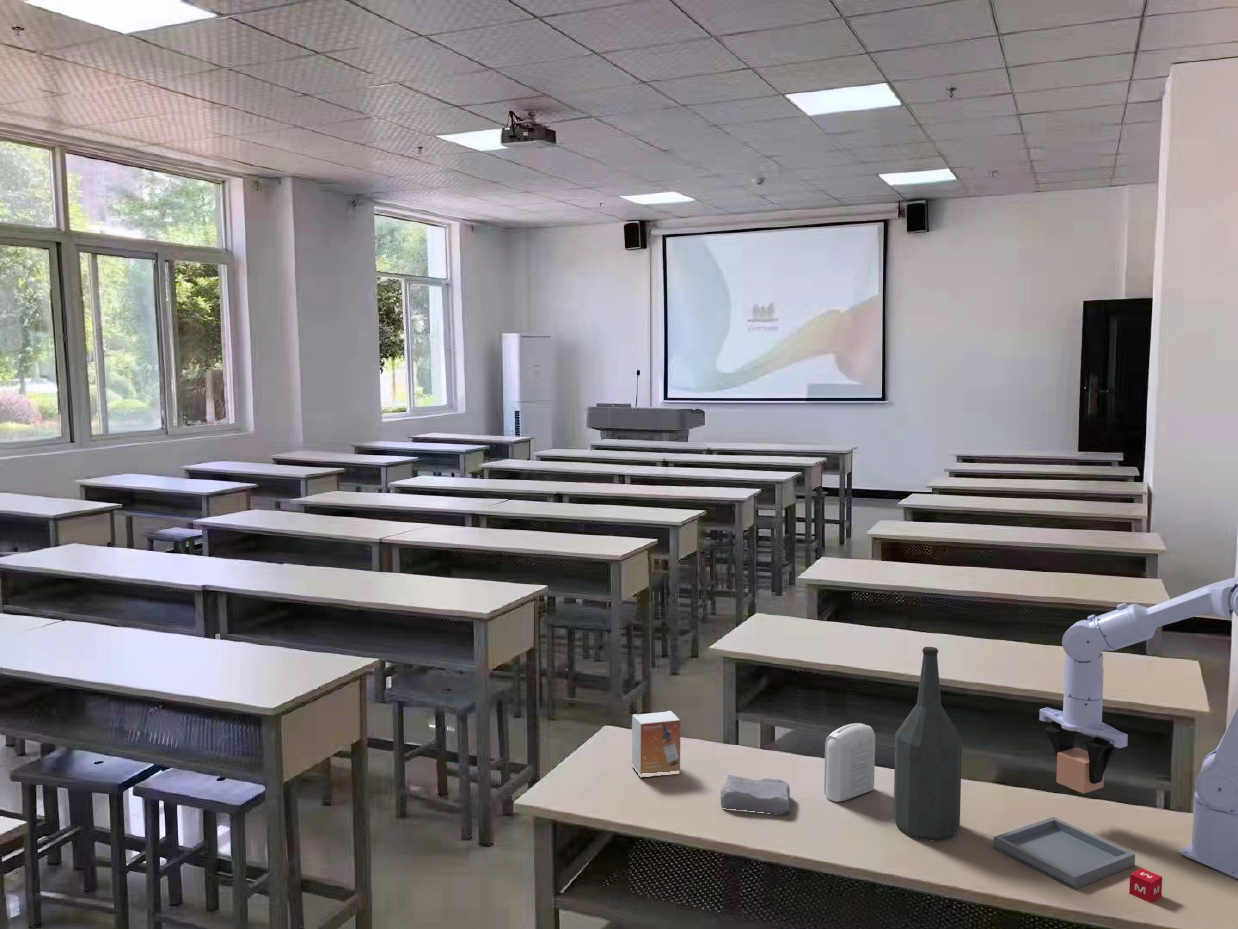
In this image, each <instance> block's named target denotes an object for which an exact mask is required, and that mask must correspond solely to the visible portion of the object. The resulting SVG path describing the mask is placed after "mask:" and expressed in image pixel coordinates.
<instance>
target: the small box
mask: <svg viewBox="0 0 1238 929" xmlns="http://www.w3.org/2000/svg"><path fill="white" fill-rule="evenodd" d="M631 716H632V718H631V720H632V721H631V722H632V723H631V764H632V763H633V765H634V767H635V768H636V769H637V771H638V772H639V773H640V774H642V773H657V772H670V771H677V770H678V771H679V770H680V771H681V726H682V725H681V720H680V718H679V717H678V716H677V715H676V714H675V713H674V712H673V711H672V710H667V711H662V712H661V711H660V712H651V713H641V714H640V713H638V714H637V713H635V714H632V715H631Z"/></svg>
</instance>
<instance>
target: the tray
mask: <svg viewBox="0 0 1238 929" xmlns="http://www.w3.org/2000/svg"><path fill="white" fill-rule="evenodd" d="M993 849H995V850H997V851H998V852H1000V853H1002V854H1004V855H1007V856H1009V857H1011V858H1013V859H1014V860H1016V861H1018V862H1021V863H1022V864H1024V865H1026V866H1028V867H1030V868H1032V869H1033V870H1035V871H1038V872H1039V871H1040V872H1039V873H1042V874H1044V875H1045V876H1047V877H1049V878H1051V879H1053V880H1055V881H1057V882H1058V883H1060V884H1062V885H1065V886H1067V887H1069V888H1071V889H1073V890H1076V889H1079V888H1081V887H1084V886H1086V885H1089V884H1091V883H1094V882H1096V881H1099V880H1102V879H1105V878H1107V877H1110V876H1112V875H1114V873H1115V874H1116V873H1120V872H1121V871H1124V870H1127V869H1130V868H1132V867H1135V864H1136V853H1134V852H1132V851H1130V850H1127V849H1125V848H1122V847H1121V846H1118V845H1116V844H1114V843H1112V842H1110V841H1107V840H1105V839H1104V838H1103V839H1102V838H1101V837H1098V836H1096V835H1094V834H1091V833H1090V832H1087V831H1085V830H1083V829H1081V828H1079V827H1077V826H1074V825H1072V824H1069V823H1068V822H1065V821H1063V820H1061V819H1058V818H1057V817H1054V816H1052V817H1048V818H1045V819H1043V820H1041V821H1036V822H1034V823H1031V824H1028V825H1025V826H1022V827H1019V828H1016V829H1013V830H1009V831H1006V832H1004V833H1002V834H1001V833H1000V834H998V835H995V836H994V837H993ZM1104 877H1105V878H1104Z"/></svg>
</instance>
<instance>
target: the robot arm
mask: <svg viewBox="0 0 1238 929" xmlns="http://www.w3.org/2000/svg"><path fill="white" fill-rule="evenodd" d="M1207 613H1211V614H1215V615H1219V616H1222V617H1226V618H1231V616H1232V615H1233V613H1234V614H1235V615H1236V616H1237V617H1238V576H1235V577H1232V578H1231V577H1230V578H1227V579H1224V580H1220V581H1216V582H1214V583H1211V584H1210V583H1209V584H1207V585H1203V587H1198V588H1197V589H1194V590H1192V591H1189V592H1186V593H1184V594H1180V595H1178V596H1176V597H1173V598H1170V599H1168V600H1165V601H1162V602H1160V603H1158V604H1154V605H1152V606H1149V607H1146V606H1143V605H1140V604H1137V603H1132V604H1127V602H1123V603H1120V604H1118V605H1117V606H1116V609H1115V610H1112V611H1109V612H1106V613H1103V614H1100V615H1096V614H1091V615H1088V616H1087V619H1081V620H1078V621H1076V622H1075V623H1074V624H1072V625H1071V626H1070V627H1069V628H1067V630H1066V631H1065V632H1064V633H1063V635H1062V638H1061V639H1062V640H1061V645H1062V649H1063V650H1064V653H1065V656H1064V657H1065V665H1064V673H1063V674H1064V677H1063V699H1062V700H1063V701H1062V702H1063V706H1062V710H1059V709H1054V708H1051V707H1048V706H1047V707H1044V708H1040V709H1039V721H1041V722H1045V723H1050V724H1049V727H1047V726H1046V728H1045V734H1046V735H1047V738H1048V739H1049V740H1050V743H1051V746H1052V747H1053V750H1054V754H1055V757H1056V758H1057V753H1059V752H1062V751H1066V750H1069V749H1073V748H1074V744H1075V743H1074V742H1075V739H1076V735H1077V733H1080V734H1082V735H1085V736H1088V737H1090V738H1094V739H1092V740H1089V741H1085V748H1086V751H1088V756H1089V778H1090V783H1092V784H1096V783H1099V782H1102V778H1103V775H1104V776H1105V771H1106V769H1107V766H1108V764H1109V762H1110V760H1111V758H1112V757H1113V755H1114V754H1115V752H1116V750H1118V749H1122V748H1125V747H1128V740H1129V739H1128V735H1129V734H1127V733H1124V732H1122V731H1119V730H1118V729H1116V728H1114V727H1112V726H1110V725H1109V724H1107V723H1105V722H1102V721H1103V702H1104V699H1103V697H1104V696H1103V695H1104V694H1103V692H1104V667H1103V666H1104V664H1103V662H1104V661H1103V660H1104V653H1103V652H1104V651H1108V652H1113V651H1116V650H1118V649H1122V648H1126V647H1129V646H1131V645H1135V644H1138V643H1142V642H1145V641H1147V640H1151V639H1152V638H1153V637H1154V635H1155V631H1156V630H1157V628H1159V627H1163V626H1167V625H1169V624H1172V623H1177V622H1180V621H1182V620H1183V621H1184V620H1187V619H1190V618H1194V617H1197V616H1200V615H1201V616H1202V615H1205V614H1207ZM1194 787H1195V788H1194V789H1195V792H1194V793H1193V797H1194V798H1193V815H1192V831H1191V832H1192V834H1191V844H1190V845H1188V846H1185V847H1183V848H1181V849H1178V853H1179V855H1182V856H1184V857H1187V858H1188V859H1190V860H1193V861H1196V862H1197V863H1200V864H1202V865H1205V866H1207V867H1209V868H1212V869H1215V870H1217V871H1219V872H1221V873H1223V874H1225V875H1228V876H1230V877H1232V878H1235V879H1237V880H1238V705H1237V706H1236V709H1235V710H1234V712H1233V715H1232V716H1231V719H1230V722H1229V724H1228V725H1227V728H1226V730H1225V732H1224V734H1223V736H1222V737H1221V739H1220V741H1219V743H1218V746H1217V747H1216V748H1215V749H1214V750H1212V751H1211V752H1209V753H1208V754H1206V756H1205V757H1204V759H1203V760H1202V763H1201V769H1200V772H1199V773H1198V775H1197V776H1196V779H1195V781H1194Z"/></svg>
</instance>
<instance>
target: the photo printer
mask: <svg viewBox="0 0 1238 929" xmlns="http://www.w3.org/2000/svg"><path fill="white" fill-rule="evenodd" d="M875 758H876V735H875V731H874V729H873V728H872V727H871V726H870V725H868V724H867V725H866V724H865V723H860V722H859V723H849V724H845V725H843V726H841V727H839V728H837V729H836V730H833V731H832V732H831V733H830V734H829V735H828V736H827V737H826V739H825V741H824V779H823V782H824V783H823V786H824V787H823V791H824V795H825V797H826V798H827V800H829V801H832V802H837V803H838V802H843V801H847V800H850V799H852V798H855V797H859V796H861V795H864V794H866V793H869V792H871V791H873V790H874V789H875V767H876V766H875V764H876V763H875Z"/></svg>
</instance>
